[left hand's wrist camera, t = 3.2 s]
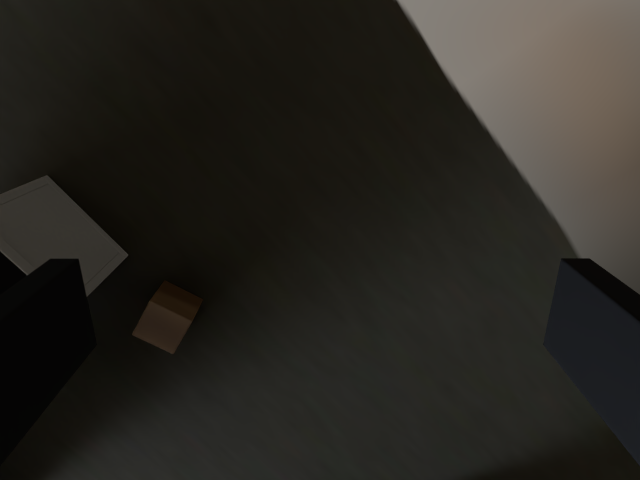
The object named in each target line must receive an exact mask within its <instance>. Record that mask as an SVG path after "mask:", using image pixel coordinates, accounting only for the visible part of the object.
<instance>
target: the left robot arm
mask: <svg viewBox="0 0 640 480" xmlns="http://www.w3.org/2000/svg"><path fill="white" fill-rule="evenodd" d="M96 345H97V344H96V339H95V334H94V329H93V324H92V320H91V315H90V310H89V305H88V301H87V296H86V291H85V286H84V282H83V277H82V272H81V267H80V262H79V259H49V260H48V261H46V262H45V263H44V264H42V265H41V266H39V267H38V268H37V269H35V270H34V271H33V272H31V273H30V274H28V275H27V276H26V277H24V278H23V279H21V280H20V281H19V282H17V283H16V284H15V285H13V286H12V287H10V288H9V289H8V290H6V291H5V292H3V293H2V294H1V295H0V466H1V464H2V463H3V462H4V460H5V459H6V458H7V457H8V455H9V454H10V453H11V452H12V450H13V449H14V448H15V447H16V445H17V444H18V443H19V442H20V440H21V439H22V438H23V437H24V435H25V434H26V433H27V432H28V430H29V429H30V428H31V427H32V425H33V424H34V423H35V422H36V420H37V419H38V418H39V417H40V415H41V414H42V413H43V411H44V410H45V409H46V408H47V406H48V405H49V404H50V403H51V401H52V400H53V399H54V398H55V396H56V395H57V394H58V393H59V391H60V390H61V389H62V388H63V386H64V385H65V384H66V383H67V381H68V380H69V379H70V378H71V376H72V375H73V374H74V373H75V371H76V370H77V369H78V367H79V366H80V365H81V364H82V362H83V361H84V360H85V359H86V357H87V356H88V355H89V354H90V352H91V351H92V350H93V349H94V347H95V346H96ZM543 345H544V346H545V347H546V349H547V350H548V351H549V352H550V354H551V355H552V356H553V357H554V359H555V360H556V361H557V362H558V364H559V365H560V366H561V367H562V369H563V370H564V371H565V373H566V374H567V375H568V376H569V378H570V379H571V380H572V381H573V383H574V384H575V385H576V386H577V388H578V389H579V390H580V391H581V393H582V394H583V395H584V396H585V398H586V399H587V400H588V401H589V403H590V404H591V405H592V406H593V408H594V409H595V410H596V411H597V413H598V414H599V415H600V417H601V418H602V419H603V420H604V422H605V423H606V424H607V425H608V427H609V428H610V429H611V430H612V432H613V433H614V434H615V435H616V437H617V438H618V439H619V440H620V442H621V443H622V444H623V445H624V447H625V448H626V449H627V450H628V452H629V453H630V454H631V455H632V457H633V458H634V459H635V460H636V462H637V463H638V464H639V466H640V295H639V294H638V293H637V292H635V291H634V290H632V289H631V288H630V287H628V286H627V285H625V284H624V283H623V282H621V281H620V280H619V279H617V278H616V277H614V276H613V275H612V274H610V273H609V272H607V271H606V270H605V269H603V268H602V267H601V266H599V265H598V264H596V263H595V262H594V261H592V260H591V259H561V262H560V267H559V272H558V277H557V282H556V286H555V291H554V296H553V301H552V305H551V310H550V315H549V320H548V324H547V329H546V334H545V339H544V344H543Z"/></svg>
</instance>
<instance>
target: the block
mask: <svg viewBox="0 0 640 480" xmlns="http://www.w3.org/2000/svg"><path fill="white" fill-rule="evenodd" d="M202 301H203V299H201V298H199V297H197V296H195V295H193V294H191V293H189V292H187V291H185V290H183V289H182V288H180V287H178V286H176V285H174V284H172V283H170V282H168V281H166V280H164V281H163V283H162V284H161V285H160V287H159V288H158V290H157V291H156V292H155V294H154V295H153V297H152V298H151V299H150V301H149V303H148V305H147V306H146V308H145V310H144V312H143V314H142V316H141V318H140V320H139V322H138V324H137V326H136V327H135V329H134V331H133V333H132V335H133V336H135V337H137V338H140V339H142V340H144V341H146V342H148V343H150V344H152V345H154V346H157V347H159V348H161V349H163V350H165V351H167V352H169V353H171V354H174V353H175V351H176V349H177V348H178V346H179V344H180V342H181V341H182V339H183V337H184V335H185V334H186V332H187V330H188V328H189V327H190V325H191V323H192V321H193V319H194V317H195V315H196V313H197V311H198V309H199V307H200V305H201V303H202Z"/></svg>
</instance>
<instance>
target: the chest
mask: <svg viewBox="0 0 640 480" xmlns="http://www.w3.org/2000/svg"><path fill="white" fill-rule="evenodd" d="M0 237H1V238H2V239H3V240H5V241H6V242H7V243H8V244H9V245H10V246H11V247H12V248H13V249H15V250H16V251H17V252H18V253H19V254H20V255H21V256H22V257H23V258H25V259H26V260H27V261H28V262H29V263H30V264H31V265H32V266H34V267H35V268H36V269H37V268H38V267H39V266H41V265H42V264H44V263H45V262H46V261H48V260H49V259H79V262H80V267H81V272H82V277H83V282H84V286H85V291H86V296H88V295H89V294H90V293H91V292H92V291H93V290H94V289H95V288H96V287H97V286H98V285H99V284H100V283H101V282H102V281H103V280H104V279H105V278H106V277H107V276H108V275H109V274H110V273H111V272H112V271H113V270H114V269H115V268H116V267H117V266H118V265H119V264H120V263H121V262H122V261H123V260H124V259H125V258H126V257H127V256H128V254H127V253H126V252H125V251H124V250H123V249H122V248H121V247H120V246H119V245H118V244H117V243H116V242H115V241H114V240H113V239H112V238H111V237H110V236H109V235H108V234H107V233H106V232H105V231H104V230H103V229H102V228H101V227H100V226H99V225H98V224H97V223H96V222H94V221H93V220H92V219H91V218H90V217H89V216H88V215H87V214H86V213H85V212H84V211H83V210H82V209H81V208H80V207H79V206H78V205H77V204H76V203H75V202H74V201H73V200H72V199H71V198H70V197H69V196H68V195H67V194H66V193H65V192H64V191H63V190H62V189H61V188H60V187H59V186H58V185H57V184H56V183H55V182H54V181H53V180H52V179H51V178H50V177H49V176H47V175H46V176H44V177H41V178H39V179H36V180H34V181H31V182H29V183H26V184H24V185H21V186H19V187H17V188H14V189H12V190H9V191H7V192H4V193H2V194H0Z"/></svg>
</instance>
